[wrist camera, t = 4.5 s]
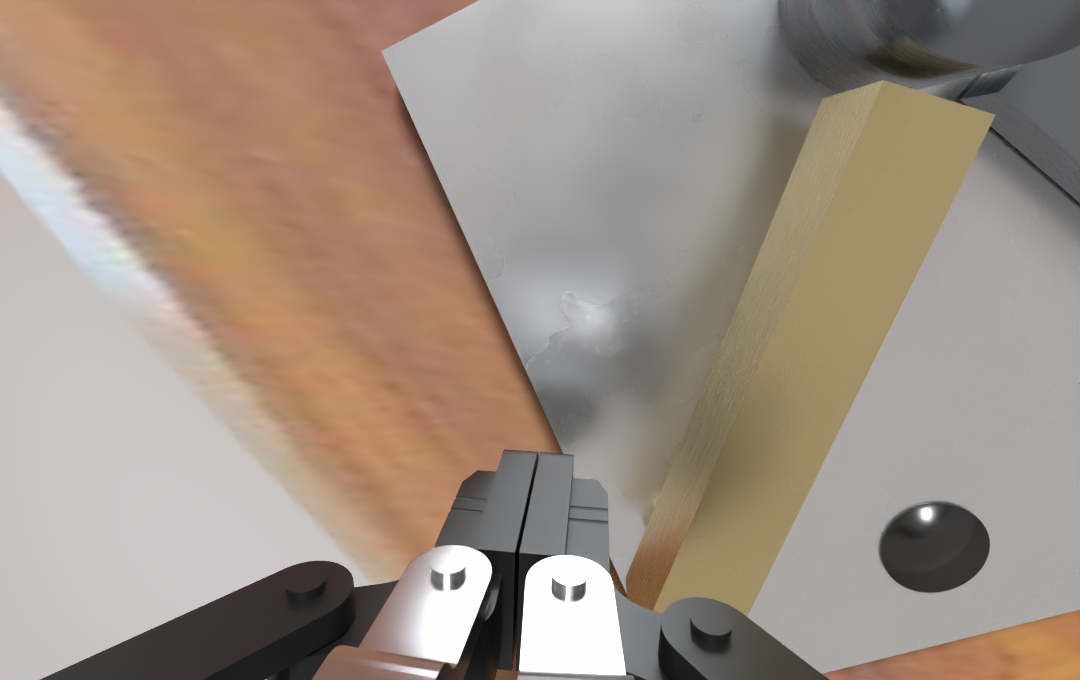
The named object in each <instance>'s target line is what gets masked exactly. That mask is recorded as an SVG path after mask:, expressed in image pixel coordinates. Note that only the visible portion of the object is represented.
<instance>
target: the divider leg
mask: <svg viewBox="0 0 1080 680" xmlns="http://www.w3.org/2000/svg"><path fill="white" fill-rule="evenodd" d="M994 117H995V115H994V114H991V113H988V112H985V111H982V110H978V109H975V108H972V107H969V106H966V105H962V104H959V103H956V102H953V101H949V100H946V99H943V98H940V97H937V96H933V95H930V94H927V93H924V92H921V91H917V90H914V89H911V88H908V87H905V86H901V85H898V84H895V83H892V82H888V81H885V80H882V81H879V82H876V83H872V84H869V85H866V86H863V87H859V88H856V89H853V90H849V91H846V92H843V93H840V94H836V95H833V96H830V97H827V98H823V99H822V100H821V103H820V105H819V107H818V110H817V112H816V115H815V117H814V120H813V122H812V125H811V127H810V129H809V132H808V134H807V137H806V139H805V142H804V144H803V146H802V149H801V151H800V154H799V156H798V159H797V161H796V164H795V166H794V168H793V171H792V173H791V176H790V178H789V181H788V183H787V185H786V188H785V190H784V193H783V195H782V198H781V200H780V203H779V205H778V207H777V210H776V212H775V215H774V217H773V220H772V222H771V224H770V227H769V229H768V232H767V234H766V237H765V239H764V242H763V244H762V246H761V249H760V251H759V254H758V256H757V259H756V261H755V263H754V266H753V268H752V271H751V273H750V276H749V278H748V281H747V283H746V285H745V288H744V290H743V293H742V295H741V298H740V300H739V302H738V305H737V307H736V310H735V312H734V315H733V317H732V320H731V322H730V324H729V327H728V329H727V332H726V334H725V337H724V339H723V341H722V344H721V346H720V349H719V351H718V354H717V356H716V359H715V361H714V363H713V366H712V368H711V371H710V373H709V376H708V378H707V380H706V383H705V385H704V388H703V390H702V393H701V395H700V398H699V400H698V402H697V405H696V407H695V410H694V412H693V415H692V417H691V419H690V422H689V424H688V427H687V429H686V432H685V434H684V437H683V439H682V441H681V444H680V446H679V449H678V451H677V454H676V456H675V459H674V461H673V463H672V466H671V468H670V471H669V473H668V476H667V478H666V480H665V483H664V485H663V488H662V490H661V493H660V495H659V498H658V500H657V502H656V505H655V507H654V510H653V512H652V515H651V517H650V519H649V522H648V524H647V527H646V529H645V532H644V534H643V537H642V539H641V541H640V544H639V546H638V549H637V551H636V554H635V556H634V558H633V561H632V563H631V566H630V568H629V571H628V573H627V576H626V591H627V599H628V600H630V601H631V602H633V603H635V604H637V605H639V606H641V607H644V608H646V609H649V610H652V611H655V612H658V613H661V614H663V613H664V611H665V609H666V608H667V607H668V606H669V605H670V604H672V603H674V602H675V601H678V600H681V599H684V598H691V597H701V598H709V599H714V600H717V601H720V602H723V603H725V604H728V605H730V606H732V607H734V608H735V609H737V610H738V611H740V612H741V613H743V614H744V615H745V616H748V614H749V612H750V610H751V608H752V606H753V604H754V602H755V600H756V598H757V596H758V594H759V592H760V590H761V588H762V586H763V584H764V582H765V580H766V578H767V576H768V574H769V572H770V570H771V568H772V566H773V564H774V562H775V560H776V558H777V556H778V554H779V552H780V549H781V547H782V545H783V543H784V541H785V539H786V537H787V535H788V533H789V531H790V529H791V527H792V525H793V523H794V521H795V519H796V517H797V515H798V513H799V511H800V509H801V507H802V505H803V503H804V501H805V499H806V497H807V495H808V493H809V491H810V489H811V487H812V485H813V483H814V481H815V479H816V477H817V475H818V473H819V471H820V469H821V467H822V465H823V463H824V461H825V459H826V457H827V455H828V453H829V450H830V448H831V446H832V444H833V442H834V440H835V438H836V436H837V434H838V432H839V430H840V428H841V426H842V424H843V422H844V420H845V418H846V416H847V414H848V412H849V410H850V408H851V406H852V404H853V402H854V400H855V398H856V396H857V394H858V392H859V390H860V388H861V386H862V384H863V382H864V380H865V378H866V376H867V374H868V372H869V370H870V368H871V366H872V364H873V362H874V360H875V358H876V356H877V354H878V352H879V349H880V347H881V345H882V343H883V341H884V339H885V337H886V335H887V333H888V331H889V329H890V327H891V325H892V323H893V321H894V319H895V317H896V315H897V313H898V311H899V309H900V307H901V305H902V303H903V301H904V299H905V297H906V295H907V293H908V291H909V289H910V287H911V285H912V283H913V281H914V279H915V277H916V275H917V273H918V271H919V269H920V267H921V265H922V263H923V261H924V259H925V257H926V255H927V253H928V251H929V248H930V246H931V244H932V242H933V240H934V238H935V236H936V234H937V232H938V230H939V228H940V226H941V224H942V222H943V220H944V218H945V216H946V214H947V212H948V210H949V208H950V206H951V204H952V202H953V200H954V198H955V196H956V194H957V192H958V190H959V188H960V186H961V184H962V182H963V180H964V178H965V176H966V174H967V172H968V170H969V168H970V166H971V164H972V162H973V160H974V158H975V156H976V154H977V152H978V150H979V147H980V145H981V143H982V141H983V139H984V137H985V135H986V133H987V131H988V129H989V127H990V125H991V123H992V121H993V119H994Z"/></svg>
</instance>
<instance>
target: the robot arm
mask: <svg viewBox="0 0 1080 680" xmlns="http://www.w3.org/2000/svg"><path fill="white" fill-rule="evenodd" d="M573 468H574V455H572V454H558V453H545V452H541V453H540V456H539V461H538V452H531V451H517V450H504V451H503V454H502V457H501V460H500V463H499V466H498V469H497V472H491V471H479V470H478V471H476V472H475V473H474V474H472V475H471V476H470V477H468V478H467V479H466V480H464V481H463V482H462V484H461V487H460V489H459V491H458V493H457V496H456V499H455V500H454V503H453V505H452V507H451V511H450V512H449V514H448V516H447V519H446V521H445V523H444V526H443V528H442V530H441V532H440V535H439V537H438V539H437V542H436V544H435V546H434V548H432V549H429V550H427V551H425V552H423V553H421V554H419V555H418V556H416V557H415V558H414V559H413V560H412V561H411V562H410V563H409V565H408V566H407V568H406V570H405V571H404V573H403V575H402V576H401V578H400V579H399V580H396V581H393V582H389V583H383V584H377V585H369V586H362V587H354V584H353V577H352V575H351V573H350V572H349V571H348V569H346V568H345V567H344V566H342V565H340V564H338V563H334V562H329V561H309V562H304V563H300V564H296V565H293V566H291V567H288V568H285V569H283V570H281V571H279V572H277V573H275V574H273V575H270V576H268V577H266V578H263V579H261V580H259V581H257V582H255V583H252V584H250V585H248V586H246V587H243V588H241V589H239V590H237V591H235V592H232V593H230V594H228V595H226V596H224V597H221V598H219V599H217V600H215V601H213V602H210V603H208V604H206V605H204V606H202V607H199V608H198V609H195V610H193V611H191V612H188V613H186V614H184V615H182V616H180V617H177V618H175V619H173V620H171V621H168V622H167V623H164V624H162V625H160V626H158V627H155V628H153V629H151V630H149V631H146V632H144V633H142V634H140V635H138V636H135V637H133V638H131V639H129V640H127V641H124V642H122V643H120V644H118V645H116V646H113V647H111V648H109V649H107V650H105V651H102V652H100V653H98V654H96V655H93V656H91V657H89V658H87V659H85V660H83V661H80V662H78V663H76V664H74V665H72V666H69V667H67V668H65V669H63V670H60V671H58V672H56V673H54V674H52V675H49V676H47V677H45V678H43V679H41V680H265V679H267V680H495V677H496V672H497V669H503V670H512V667H513V661H514V656H515V650H516V671H518V680H829V679H828V678H826V677H825V676H824V675H822V674H821V673H820V672H818V671H817V670H816V669H814V668H813V667H812V666H811V665H809V664H808V663H807V662H805V661H804V660H803V659H801V658H800V657H799V656H798V655H796V654H795V653H794V652H792V651H791V650H790V649H788V648H787V647H786V646H784V645H783V644H782V643H781V642H779V641H778V640H777V639H775V638H774V637H773V636H771V635H770V634H769V633H767V632H766V631H765V630H764V629H762V628H761V627H760V626H758V625H757V624H756V623H754V622H753V621H752V620H751V619H749V618H748V617H747V616H745V615H744V614H743V613H741V612H740V611H738V610H737V609H735V608H734V607H732V606H730V605H728V604H725V603H723V602H720V601H717V600H714V599H709V598H701V597H691V598H684V599H681V600H678V601H675V602H674V603H672V604H670V605H669V606H668V607H667V608H666V609H665V611H664V613H663V614H661V613H658V612H655V611H652V610H649V609H646V608H644V607H641V606H639V605H637V604H635V603H633V602H631V601H630V600H628V599H627V598H625V597H624V596H623V595H622V594H621V593H620V592H619V591H618V590H617V589H616V587H615V586H614V584H613V582H612V579H611V577H610V567H609V524H608V493H607V492H606V490H605V489H604V488H603V486H602V485H601V484H600V482H599V481H598V480H594V479H582V478H573ZM516 644H517V649H516Z"/></svg>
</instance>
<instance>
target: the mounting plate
mask: <svg viewBox="0 0 1080 680" xmlns="http://www.w3.org/2000/svg"><path fill="white" fill-rule="evenodd" d="M382 54H383V56H384V58H385V60H386V63H387V65H388V67H389V69H390V71H391V74H392V76H393V78H394V80H395V82H396V85H397V87H398V89H399V91H400V93H401V96H402V98H403V100H404V102H405V105H406V107H407V109H408V111H409V113H410V116H411V118H412V120H413V122H414V124H415V127H416V129H417V131H418V133H419V136H420V138H421V140H422V142H423V144H424V147H425V149H426V151H427V153H428V155H429V158H430V160H431V162H432V164H433V167H434V169H435V171H436V173H437V175H438V178H439V180H440V182H441V184H442V186H443V189H444V191H445V193H446V195H447V198H448V200H449V202H450V204H451V206H452V209H453V211H454V213H455V215H456V217H457V220H458V222H459V224H460V226H461V229H462V231H463V233H464V235H465V237H466V240H467V242H468V244H469V246H470V248H471V251H472V253H473V255H474V257H475V260H476V262H477V264H478V266H479V268H480V271H481V273H482V275H483V277H484V279H485V282H486V284H487V286H488V288H489V291H490V293H491V295H492V297H493V299H494V302H495V304H496V306H497V308H498V310H499V313H500V315H501V317H502V319H503V322H504V324H505V326H506V328H507V330H508V333H509V335H510V337H511V339H512V341H513V344H514V346H515V348H516V350H517V352H518V355H519V357H520V359H521V361H522V364H523V366H524V368H525V370H526V372H527V375H528V377H529V379H530V381H531V383H532V386H533V388H534V390H535V392H536V395H537V397H538V399H539V401H540V403H541V406H542V408H543V410H544V412H545V414H546V417H547V419H548V421H549V423H550V426H551V428H552V430H553V432H554V434H555V437H556V439H557V441H558V443H559V445H560V448H561V450H562V452H563V454H572V455H574V468H573V476H574V478H582V479H594V480H598V481H599V482H600V484H601V485H602V486H603V488H604V489H605V490H606V492H607V493H608V524H609V556H610V558H611V561H612V563H613V565H614V567H615V569H616V572H617V574H618V576H619V578H620V581H621V583H622V585H623V587H624V589H625V592H626V594H627V591H626V576H627V573H628V571H629V568H630V566H631V563H632V561H633V558H634V556H635V554H636V551H637V549H638V546H639V544H640V541H641V539H642V537H643V534H644V532H645V529H646V527H647V524H648V522H649V519H650V517H651V515H652V512H653V510H654V507H655V505H656V502H657V500H658V498H659V495H660V493H661V490H662V488H663V485H664V483H665V480H666V478H667V476H668V473H669V471H670V468H671V466H672V463H673V461H674V459H675V456H676V454H677V451H678V449H679V446H680V444H681V441H682V439H683V437H684V434H685V432H686V429H687V427H688V424H689V422H690V419H691V417H692V415H693V412H694V410H695V407H696V405H697V402H698V400H699V398H700V395H701V393H702V390H703V388H704V385H705V383H706V380H707V378H708V376H709V373H710V371H711V368H712V366H713V363H714V361H715V359H716V356H717V354H718V351H719V349H720V346H721V344H722V341H723V339H724V337H725V334H726V332H727V329H728V327H729V324H730V322H731V320H732V317H733V315H734V312H735V310H736V307H737V305H738V302H739V300H740V298H741V295H742V293H743V290H744V288H745V285H746V283H747V281H748V278H749V276H750V273H751V271H752V268H753V266H754V263H755V261H756V259H757V256H758V254H759V251H760V249H761V246H762V244H763V242H764V239H765V237H766V234H767V232H768V229H769V227H770V224H771V222H772V220H773V217H774V215H775V212H776V210H777V207H778V205H779V203H780V200H781V198H782V195H783V193H784V190H785V188H786V185H787V183H788V181H789V178H790V176H791V173H792V171H793V168H794V166H795V164H796V161H797V159H798V156H799V154H800V151H801V149H802V146H803V144H804V142H805V139H806V137H807V134H808V132H809V129H810V127H811V125H812V122H813V120H814V117H815V115H816V112H817V110H818V107H819V105H820V103H821V100H822V99H823V98H827V97H830V96H833V95H836V94H840V93H843V92H846V91H849V90H853V89H856V88H859V87H863V86H866V85H869V84H872V83H876V82H879V81H882V80H885V81H888V82H892V83H895V84H898V85H901V86H905V87H908V88H911V89H914V90H917V91H921V92H924V93H927V94H930V95H933V96H937V97H940V98H943V99H946V100H949V101H953V102H956V103H959V104H962V105H966V106H969V107H972V108H975V109H978V110H982V111H985V112H988V113H991V114H994V115H995V117H994V119H993V121H992V123H991V125H990V127H989V129H988V131H987V133H986V135H985V137H984V139H983V141H982V143H981V145H980V147H979V150H978V152H977V154H976V156H975V158H974V160H973V162H972V164H971V166H970V168H969V170H968V172H967V174H966V176H965V178H964V180H963V182H962V184H961V186H960V188H959V190H958V192H957V194H956V196H955V198H954V200H953V202H952V204H951V206H950V208H949V210H948V212H947V214H946V216H945V218H944V220H943V222H942V224H941V226H940V228H939V230H938V232H937V234H936V236H935V238H934V240H933V242H932V244H931V246H930V248H929V251H928V253H927V255H926V257H925V259H924V261H923V263H922V265H921V267H920V269H919V271H918V273H917V275H916V277H915V279H914V281H913V283H912V285H911V287H910V289H909V291H908V293H907V295H906V297H905V299H904V301H903V303H902V305H901V307H900V309H899V311H898V313H897V315H896V317H895V319H894V321H893V323H892V325H891V327H890V329H889V331H888V333H887V335H886V337H885V339H884V341H883V343H882V345H881V347H880V349H879V352H878V354H877V356H876V358H875V360H874V362H873V364H872V366H871V368H870V370H869V372H868V374H867V376H866V378H865V380H864V382H863V384H862V386H861V388H860V390H859V392H858V394H857V396H856V398H855V400H854V402H853V404H852V406H851V408H850V410H849V412H848V414H847V416H846V418H845V420H844V422H843V424H842V426H841V428H840V430H839V432H838V434H837V436H836V438H835V440H834V442H833V444H832V446H831V448H830V450H829V453H828V455H827V457H826V459H825V461H824V463H823V465H822V467H821V469H820V471H819V473H818V475H817V477H816V479H815V481H814V483H813V485H812V487H811V489H810V491H809V493H808V495H807V497H806V499H805V501H804V503H803V505H802V507H801V509H800V511H799V513H798V515H797V517H796V519H795V521H794V523H793V525H792V527H791V529H790V531H789V533H788V535H787V537H786V539H785V541H784V543H783V545H782V547H781V549H780V552H779V554H778V556H777V558H776V560H775V562H774V564H773V566H772V568H771V570H770V572H769V574H768V576H767V578H766V580H765V582H764V584H763V586H762V588H761V590H760V592H759V594H758V596H757V598H756V600H755V602H754V604H753V606H752V608H751V610H750V612H749V614H748V616H747V617H748V618H749V619H751V620H752V621H753V622H754V623H756V624H757V625H758V626H760V627H761V628H762V629H764V630H765V631H766V632H767V633H769V634H770V635H771V636H773V637H774V638H775V639H777V640H778V641H779V642H781V643H782V644H783V645H784V646H786V647H787V648H788V649H790V650H791V651H792V652H794V653H795V654H796V655H798V656H799V657H800V658H801V659H803V660H804V661H805V662H807V663H808V664H809V665H811V666H812V667H813V668H814V669H816V670H817V671H818V672H820V673H821V674H823V673H827V672H831V671H835V670H839V669H843V668H847V667H851V666H855V665H859V664H863V663H867V662H871V661H875V660H879V659H883V658H887V657H891V656H895V655H899V654H903V653H907V652H911V651H915V650H919V649H923V648H927V647H931V646H935V645H940V644H944V643H948V642H952V641H956V640H960V639H964V638H968V637H972V636H976V635H980V634H984V633H988V632H992V631H996V630H1000V629H1004V628H1008V627H1012V626H1016V625H1020V624H1024V623H1028V622H1032V621H1036V620H1040V619H1044V618H1048V617H1052V616H1056V615H1060V614H1064V613H1068V612H1072V611H1076V610H1080V0H479V1H477V2H475V3H473V4H471V5H470V6H468V7H466V8H464V9H462V10H460V11H458V12H456V13H454V14H452V15H450V16H448V17H446V18H444V19H443V20H441V21H439V22H437V23H435V24H433V25H431V26H429V27H427V28H425V29H423V30H421V31H419V32H417V33H416V34H414V35H412V36H410V37H408V38H406V39H404V40H402V41H400V42H398V43H396V44H394V45H392V46H390V47H388V48H387V49H385V50H383V51H382Z"/></svg>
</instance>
